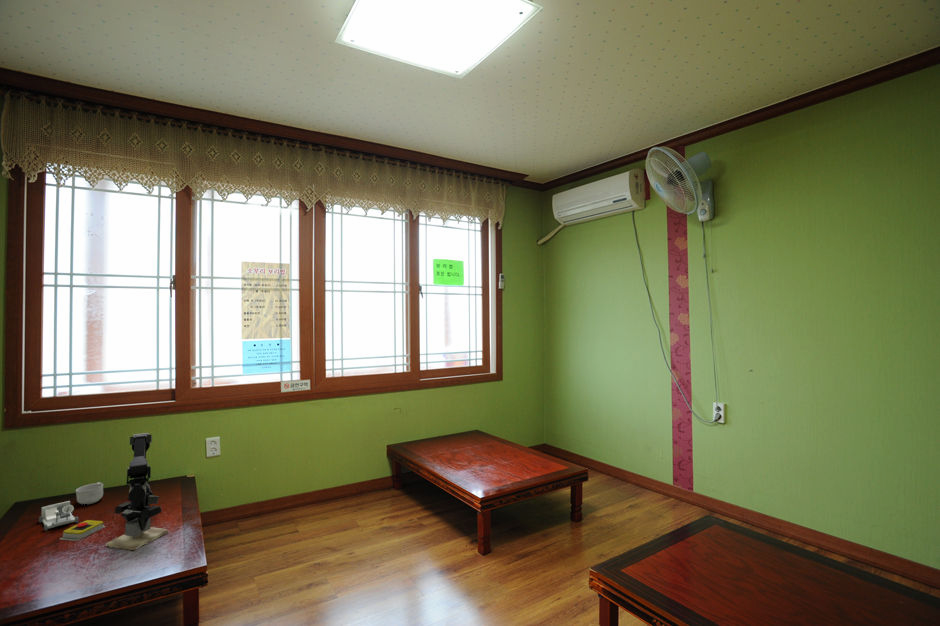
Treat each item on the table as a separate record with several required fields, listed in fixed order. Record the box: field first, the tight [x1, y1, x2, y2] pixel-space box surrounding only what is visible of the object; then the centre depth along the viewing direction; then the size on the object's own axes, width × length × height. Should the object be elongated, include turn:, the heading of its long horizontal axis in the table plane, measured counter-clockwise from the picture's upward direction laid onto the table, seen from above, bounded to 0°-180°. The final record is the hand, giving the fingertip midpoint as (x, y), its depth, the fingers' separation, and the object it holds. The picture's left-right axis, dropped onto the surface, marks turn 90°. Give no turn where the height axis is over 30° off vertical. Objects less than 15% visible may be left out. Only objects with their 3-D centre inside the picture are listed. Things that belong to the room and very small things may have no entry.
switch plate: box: [106, 526, 169, 551], centre depth 200 cm, size 16×14×6 cm
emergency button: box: [59, 519, 106, 542], centre depth 206 cm, size 9×4×15 cm
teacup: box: [75, 481, 104, 505], centre depth 239 cm, size 14×11×8 cm
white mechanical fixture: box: [38, 500, 80, 532], centre depth 214 cm, size 18×10×12 cm
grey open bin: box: [124, 518, 151, 537], centre depth 200 cm, size 7×5×5 cm, turn 166°
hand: (138, 529), depth 200 cm, fingers closed on grey open bin, 5 cm apart
